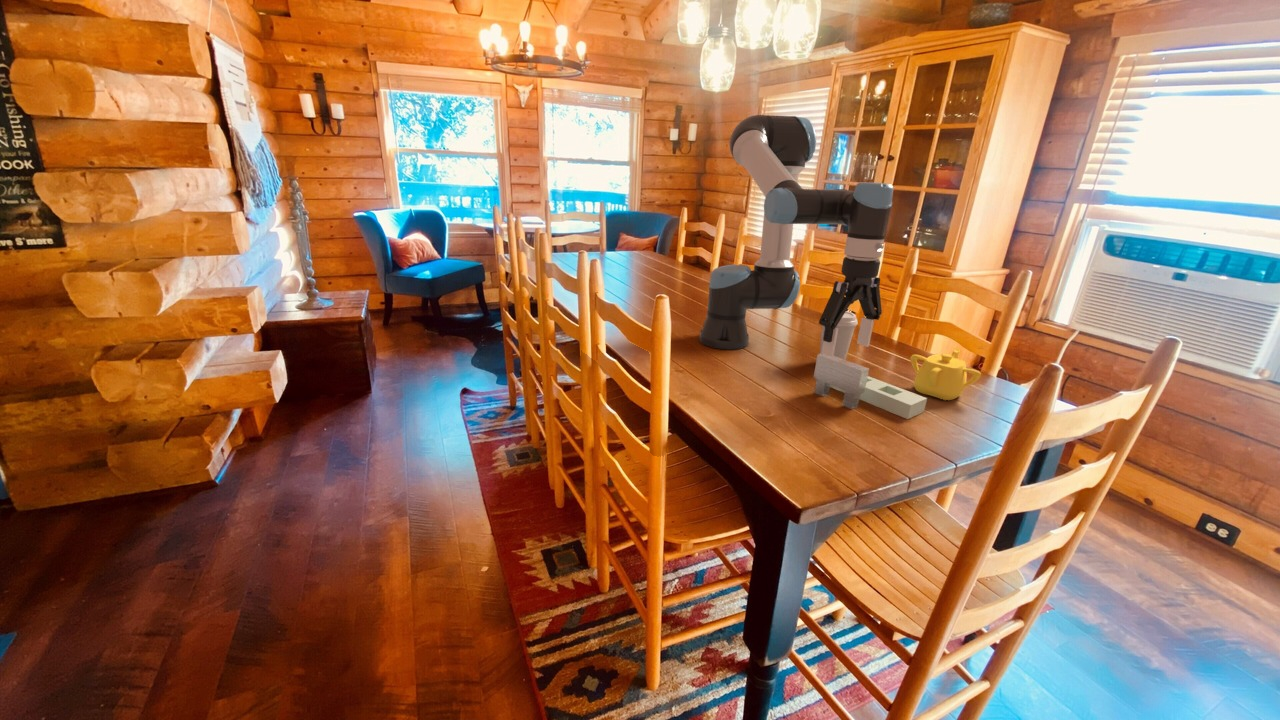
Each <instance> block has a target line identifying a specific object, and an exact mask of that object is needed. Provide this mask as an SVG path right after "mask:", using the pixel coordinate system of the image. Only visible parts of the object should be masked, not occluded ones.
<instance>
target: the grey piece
mask: <svg viewBox="0 0 1280 720" xmlns="http://www.w3.org/2000/svg"><path fill="white" fill-rule="evenodd" d="M869 371H870V368H869V367H865V366H863V365H861V364H859V363H854V362H852V361H850V360H847V359H845V360H844V359H841V358H839V357H836V356H833V357H830V356H827V355H824V354H822V353H821V354H820V353H818V354H817V356H816V361H815V368H814V372H813V378H814V379H816V380H815V381H816V382H815V387H814V394H815V395H818V396H819V397H823V398H824V397H827V396H828V395H830V389H831V387H830V384H831V385H833V386H836V387H838V388H841V389H843V390H845V393H844V396H843V399H842V400H843V401H842V406H843V407H844V408H847V409H849V410H854V409H856V408H859V401H860V399H859V397H860V394H862V393H864V392H865V387H866V382H867V377H868V376H869Z"/></svg>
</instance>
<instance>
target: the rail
mask: <svg viewBox="0 0 1280 720" xmlns="http://www.w3.org/2000/svg"><path fill="white" fill-rule="evenodd" d="M830 389H834V390H836V391H839V392H841V393H844V394H845V390H843V389H841V388H838V387H836V386H833V385H831V384H830ZM859 401H863V402H865V403H868V404H869V405H872V406H874V407H877V408H880V409H881V410H884V411H887V412H889V413H891V414H894V415H896V416H899V417H902V418H904V419H906V420H909V419H911V418H913V417H915V416H918V415H920V414H922V413H924V412H925V409H926V406H927V401H928V397H925V396H923V395H920V394H917V393H915V392H912V391H909V390H906V389H904V388H901V387H899V386H895V385H893V384H890V383H889V382H885V381H883V380H880V379H877V378H874V377H871V376H870V375H868V377H867V382H866V387H865V392H864V393H862V394H860V397H859Z"/></svg>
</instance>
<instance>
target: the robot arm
mask: <svg viewBox="0 0 1280 720" xmlns="http://www.w3.org/2000/svg"><path fill="white" fill-rule="evenodd" d="M816 134H817V133H816V129H815V126H814V125H813V123H812V121H811V120H810V119H809V118H806V117H800V116H796V115H794V116H793V115H768V114H765V115H764V114H756V115H751V116H748V117H746V118H744V119H743V120H741V121H740V122H739V123H738V124H737V125H736V126H735V127H734V129H733V130H732V132H731V134H730V137H729V150H730V153H731V154H730V155H731V156H732V158H733V159H734V160H735V162H736V163H737V164H738V165H740V166H742V167H744V169H746V171H747V173H748V174H749V176H751V178H752V180H753V181H754V182H755V184H756V185H757V187H758V188H759V190H760V191H761V193H762V194H763V195H764V197H765V198H764V202H763V211H764V213H763V221H762V222H763V224H762V232H761V243H760V244H761V246H760V254H759V255H760V257H759V259H758V260H757V261H755V262H754V266H753V270H751V267H750V266H748V265H747V264H746V265H745V264H728V265H722V266H719V267H716V268H714V269H713V270H712V271H711V273H710V277H709V278H710V279H709V283H708V299H707V311H706V318H705V321H703V324H702V329H700V331H699V337H698V338H699V339H698V340H699V342H700V343H701V344H702V345H705V346H707V347H709V348H714V349H718V350H740V349H744V348H745V347H748V345H749V339H750V336H749V333H748V328H747V323H746V322H747V321H746V314H747V310H765V309H767V310H770V309H773V310H778V309H787V308H790V307H791V306H792V305H793V304H794V303H795V301H796V300H797V298H798V296H799V293H800V287H801V280H800V274H799V273H798V272H797V271H796V270H795V269H794V268H795V265H794V264H793V263H792V261H791V259H790V257H791V249H792V247H791V246H792V241H793V239H792V238H793V229H794V225H842V226H848V229H847V234H846V235H847V236H846V242H845V246H844V252H843V254H844V255H845V257H844V258H842V259H843V260H842V265H841V274H842V275H844V277H845V278H844V281H843V282H841V281H837V280H836V281H834V283H833V284H834V285H833V289H832V291H831V293H830V295H829V299H828V301H827V303H826V305H825V308H824V309H823V311H822V314H821V316H820V319H819V321H818V324H819V325H820V326H822V325H823V326H825V331H824V337H823V346H822V352H821V353H822V354H824V355H827V356H830V357H833V356H834V351H835V345H836V339H837V334H838V328H836V326H837V325H838V323H839V321H840V320H841V318H842V317H843V315H844V314H845V312H846V311H847V310H848V308H849V307H850V306H851V305H853V304H854V303H855V302H856V301H858V302H859V304H860V307H861V309H862V312H863V315H864V317H863V316H862V317H861V319H860V325H859V331H858V337H857V340H856V344H857V345H861V346H862V347H863V346H864V347H866V348H867V347H870V343H871V338H872V332H873V327H874V323H875V320H876V321H879V320H880V318H881V315H882V313H883V310H882V301H881V291H880V285H881V284H880V283H881V278H880V277H878V276H879V272H880V266H881V261H880V258H881V257H882V254H883V249H884V248H885V245H884V243H885V238H886V234H887V229H888V226H889V225H888V224H889V220H890V214H891V210H892V206H893V195H894V186H893V184H891V183H887V182H883V183H882V182H867V181H866V182H865V181H864V182H862V181H861V182H858V183H856V185H855V188H854V190H849V189H845V188H842V189H839V188H835V189H819V188H818V189H813V188H803V187H802V186H801V185H800V184H799V183H798V182H799V181H798V180H799V175H800V173H802V172H803V170H804V169H805V167H806V163H808V162H810V161H811V160H812V158H813V157H814V154H815V151H816V147H817V146H816V145H817V135H816ZM825 319H826V320H825Z"/></svg>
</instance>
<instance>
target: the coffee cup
mask: <svg viewBox="0 0 1280 720" xmlns="http://www.w3.org/2000/svg"><path fill="white" fill-rule="evenodd" d="M825 320H826V319H825ZM858 322H859V321H858V318H857V315H856V314H855V313H853V312H851V311H847V310H846V312H845V314H844V315H843V317H842V318H841V320H840V321H839V323H838V325H837V326H836V328H838V334H837V339H836V345H835V351H834V356H836V357H839V358H841V359H844V360H847V356H848V351H849V349H850V345H851V342H852V338H853V334H854V332H855V329H856V326H857V325H858V324H859V323H858ZM824 331H825V326H823V325H821V336H820V349H819V354H821V352H822V346H823V337H824Z"/></svg>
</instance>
